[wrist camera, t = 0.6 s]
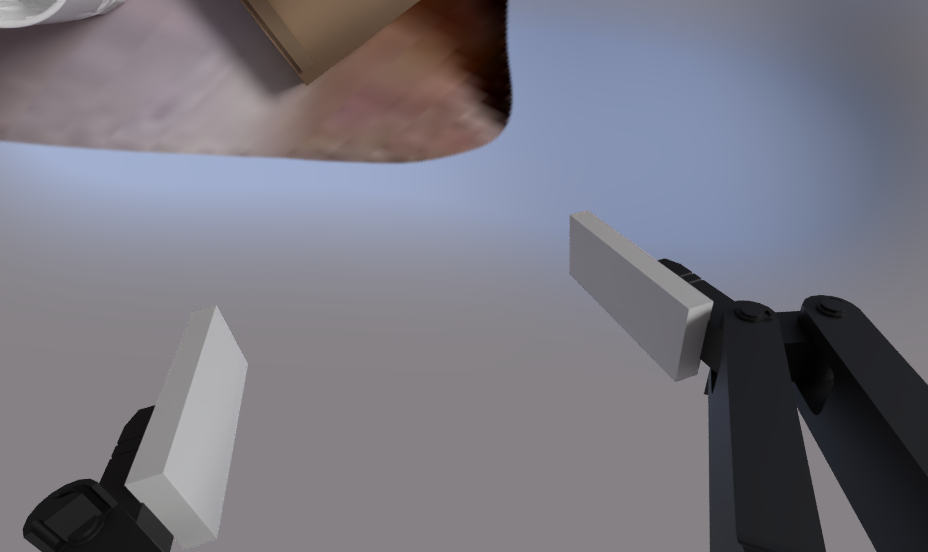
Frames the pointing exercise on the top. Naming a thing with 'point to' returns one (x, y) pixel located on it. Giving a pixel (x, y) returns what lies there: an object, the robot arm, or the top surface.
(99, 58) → the top surface
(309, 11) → the tan flat block
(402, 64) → the top surface
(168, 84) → the top surface
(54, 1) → the white cup
